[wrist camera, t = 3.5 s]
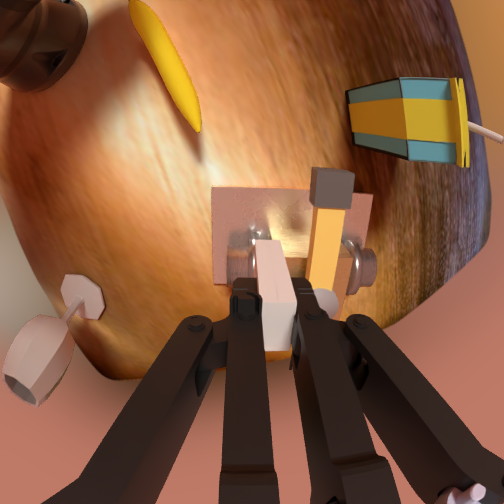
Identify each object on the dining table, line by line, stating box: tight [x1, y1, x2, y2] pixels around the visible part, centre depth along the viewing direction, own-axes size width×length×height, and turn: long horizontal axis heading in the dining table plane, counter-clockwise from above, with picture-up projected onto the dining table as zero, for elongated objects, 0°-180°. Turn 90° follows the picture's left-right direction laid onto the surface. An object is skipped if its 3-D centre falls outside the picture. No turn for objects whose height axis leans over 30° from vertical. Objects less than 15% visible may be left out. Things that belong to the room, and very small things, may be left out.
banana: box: [129, 0, 202, 133], centre depth 24 cm, size 3×19×6 cm, turn 24°
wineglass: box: [2, 274, 105, 408], centre depth 30 cm, size 9×9×21 cm
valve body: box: [212, 185, 377, 320], centre depth 32 cm, size 20×13×10 cm, turn 88°
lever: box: [305, 167, 355, 319], centre depth 25 cm, size 15×4×2 cm, turn 178°
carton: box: [345, 77, 503, 167], centre depth 22 cm, size 7×8×18 cm
